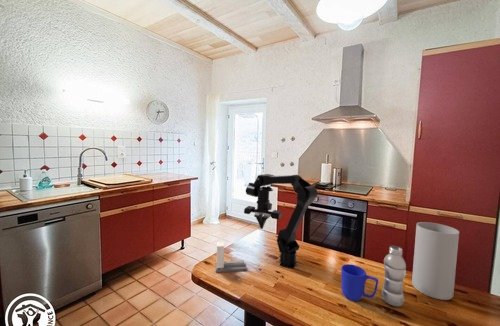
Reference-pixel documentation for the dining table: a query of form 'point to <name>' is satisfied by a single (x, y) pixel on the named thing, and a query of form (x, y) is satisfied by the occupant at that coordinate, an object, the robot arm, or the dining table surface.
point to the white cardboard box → (220, 254)
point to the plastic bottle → (394, 277)
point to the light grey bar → (233, 263)
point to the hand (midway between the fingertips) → (261, 228)
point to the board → (231, 268)
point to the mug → (355, 282)
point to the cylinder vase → (435, 260)
